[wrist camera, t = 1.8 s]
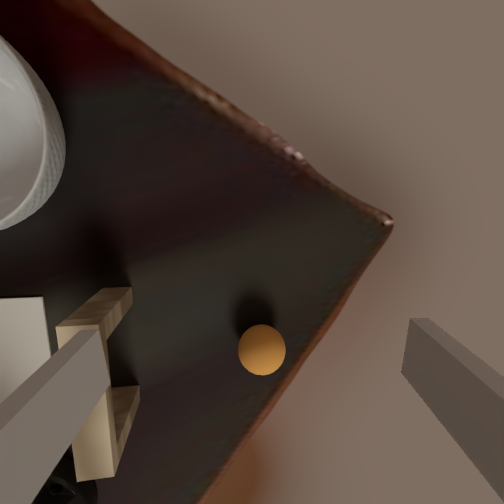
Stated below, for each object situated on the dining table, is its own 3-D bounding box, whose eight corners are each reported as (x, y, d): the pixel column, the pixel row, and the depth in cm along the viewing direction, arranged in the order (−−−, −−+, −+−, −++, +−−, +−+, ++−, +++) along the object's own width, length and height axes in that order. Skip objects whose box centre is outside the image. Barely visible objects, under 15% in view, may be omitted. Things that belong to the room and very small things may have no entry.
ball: (277, 354, 34) (290, 383, 29) (235, 358, 33) (241, 388, 28) (279, 315, 33) (292, 337, 28) (235, 318, 32) (241, 341, 27)
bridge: (131, 286, 29) (98, 324, 20) (140, 399, 32) (114, 476, 23) (102, 287, 29) (55, 326, 20) (114, 402, 31) (77, 481, 23)
